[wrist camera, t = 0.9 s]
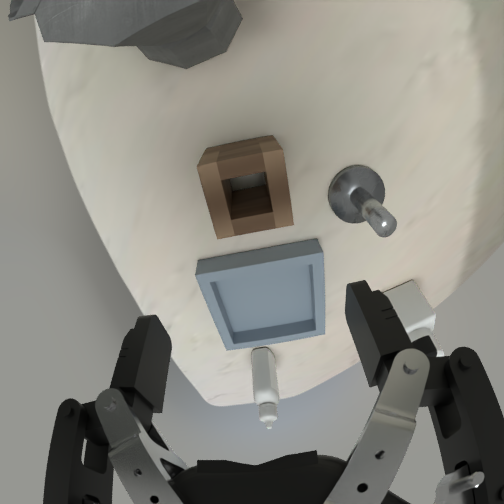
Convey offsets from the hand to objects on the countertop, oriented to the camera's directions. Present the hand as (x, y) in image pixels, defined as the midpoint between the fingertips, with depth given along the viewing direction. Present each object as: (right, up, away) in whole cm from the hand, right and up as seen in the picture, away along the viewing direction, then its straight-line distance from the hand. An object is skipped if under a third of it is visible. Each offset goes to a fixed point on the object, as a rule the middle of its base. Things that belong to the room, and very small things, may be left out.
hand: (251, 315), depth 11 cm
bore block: (-1, +10, +14) cm, 17 cm away
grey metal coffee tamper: (+10, +9, +15) cm, 20 cm away
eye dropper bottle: (+2, -13, +29) cm, 32 cm away
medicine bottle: (+20, -5, +25) cm, 32 cm away
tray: (+2, -2, +22) cm, 22 cm away
